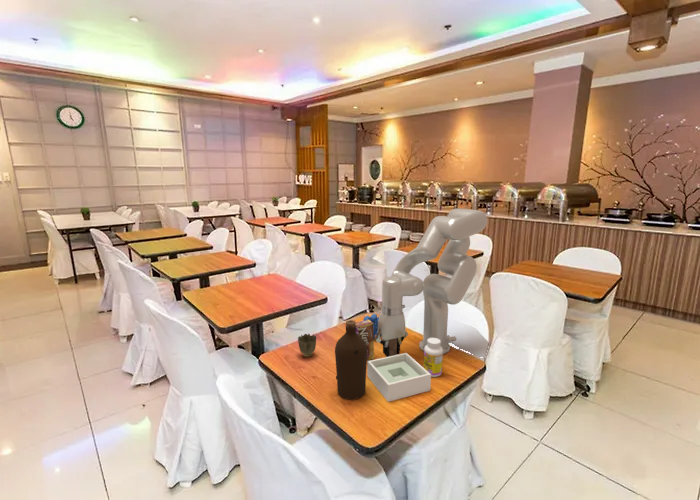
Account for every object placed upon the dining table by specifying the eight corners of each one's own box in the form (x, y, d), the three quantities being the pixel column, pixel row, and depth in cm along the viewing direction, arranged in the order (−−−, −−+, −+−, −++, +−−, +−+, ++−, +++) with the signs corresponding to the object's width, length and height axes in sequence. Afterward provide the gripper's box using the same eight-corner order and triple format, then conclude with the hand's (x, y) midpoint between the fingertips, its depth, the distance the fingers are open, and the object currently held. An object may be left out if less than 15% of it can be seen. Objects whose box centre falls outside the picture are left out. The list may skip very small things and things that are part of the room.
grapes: (382, 334, 163) (383, 310, 160) (385, 341, 156) (385, 315, 154) (357, 335, 162) (357, 310, 160) (358, 342, 155) (358, 316, 153)
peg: (393, 358, 142) (393, 329, 140) (398, 362, 138) (399, 334, 136) (384, 360, 141) (384, 331, 138) (389, 364, 137) (389, 335, 135)
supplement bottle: (419, 370, 133) (420, 338, 130) (434, 366, 136) (435, 335, 133) (430, 379, 127) (431, 346, 124) (445, 375, 130) (447, 342, 127)
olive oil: (373, 390, 121) (373, 321, 116) (353, 405, 113) (352, 332, 108) (349, 379, 128) (349, 313, 123) (329, 392, 120) (327, 323, 115)
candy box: (369, 354, 145) (369, 319, 142) (374, 359, 141) (374, 323, 138) (349, 359, 141) (348, 323, 138) (354, 364, 138) (353, 327, 134)
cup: (295, 358, 143) (294, 339, 141) (304, 350, 149) (303, 332, 148) (311, 361, 140) (311, 342, 138) (320, 353, 147) (319, 335, 145)
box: (406, 367, 135) (406, 352, 134) (430, 390, 121) (431, 374, 119) (367, 376, 129) (367, 361, 128) (388, 401, 115) (388, 385, 114)
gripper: (406, 303, 142) (405, 345, 145) (367, 309, 136) (367, 353, 139) (416, 309, 135) (415, 354, 139) (376, 316, 129) (376, 363, 132)
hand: (391, 353), depth 139 cm, fingers closed on peg, 4 cm apart
